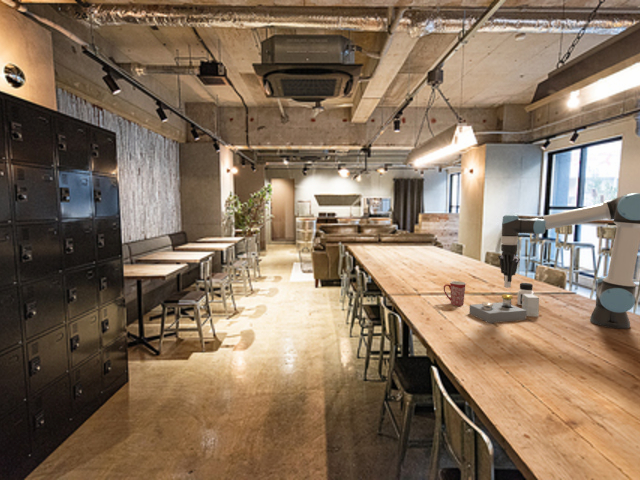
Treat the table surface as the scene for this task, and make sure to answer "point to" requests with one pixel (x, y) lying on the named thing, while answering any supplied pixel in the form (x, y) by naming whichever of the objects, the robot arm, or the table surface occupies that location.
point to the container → (524, 291)
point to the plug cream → (487, 305)
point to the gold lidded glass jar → (507, 300)
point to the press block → (498, 313)
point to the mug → (456, 292)
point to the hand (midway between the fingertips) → (507, 287)
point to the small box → (530, 304)
